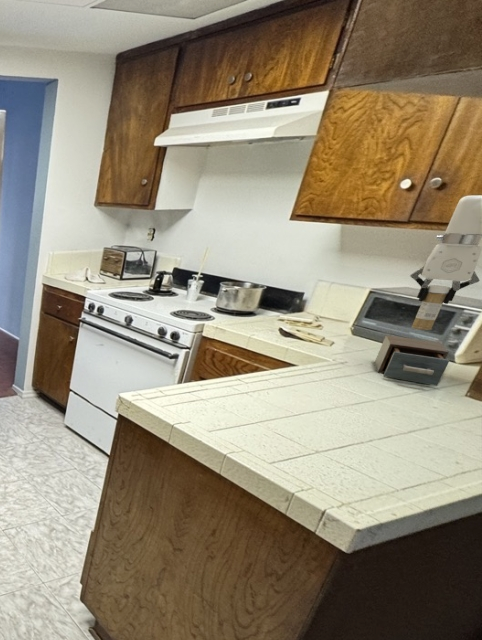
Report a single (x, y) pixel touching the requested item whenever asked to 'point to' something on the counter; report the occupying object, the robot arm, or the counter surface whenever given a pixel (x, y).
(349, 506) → the counter surface
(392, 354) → the drawer
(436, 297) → the sprinkles bottle
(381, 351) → the cabinet
